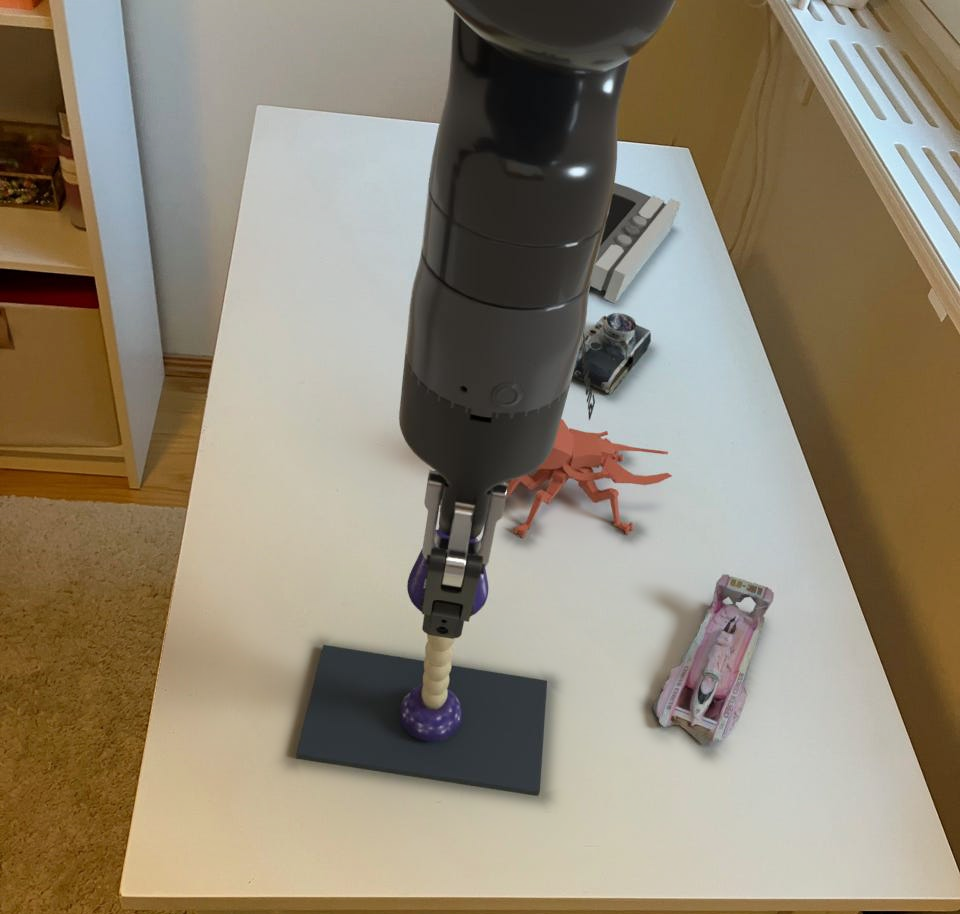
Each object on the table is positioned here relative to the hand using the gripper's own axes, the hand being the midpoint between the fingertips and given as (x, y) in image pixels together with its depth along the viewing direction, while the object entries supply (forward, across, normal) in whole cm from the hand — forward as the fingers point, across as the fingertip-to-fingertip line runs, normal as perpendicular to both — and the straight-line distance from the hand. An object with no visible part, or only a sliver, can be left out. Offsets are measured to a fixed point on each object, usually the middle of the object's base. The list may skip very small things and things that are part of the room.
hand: (447, 595), depth 57 cm
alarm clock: (+14, -64, +8) cm, 66 cm away
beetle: (+14, -25, +9) cm, 30 cm away
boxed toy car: (+14, -8, +20) cm, 26 cm away
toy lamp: (+13, 0, 0) cm, 13 cm away
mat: (+13, 0, 0) cm, 13 cm away
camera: (+14, -43, +12) cm, 47 cm away
